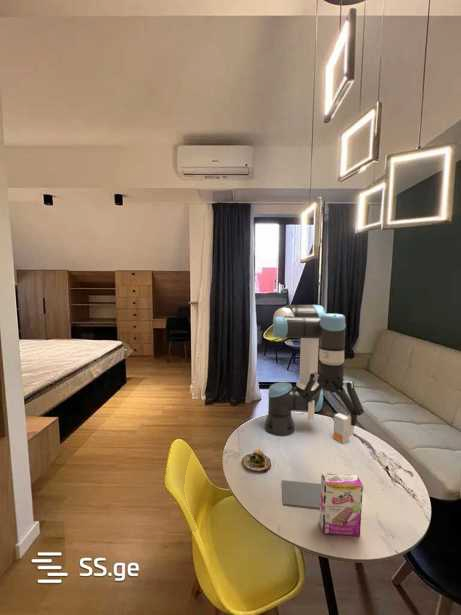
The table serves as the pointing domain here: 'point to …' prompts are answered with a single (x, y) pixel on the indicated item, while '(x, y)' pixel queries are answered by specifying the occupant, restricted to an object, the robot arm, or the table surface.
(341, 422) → the skincare box
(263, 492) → the table surface
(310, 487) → the mat
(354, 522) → the candy bar box
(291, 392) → the robot arm
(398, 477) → the table surface
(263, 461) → the plate of food
